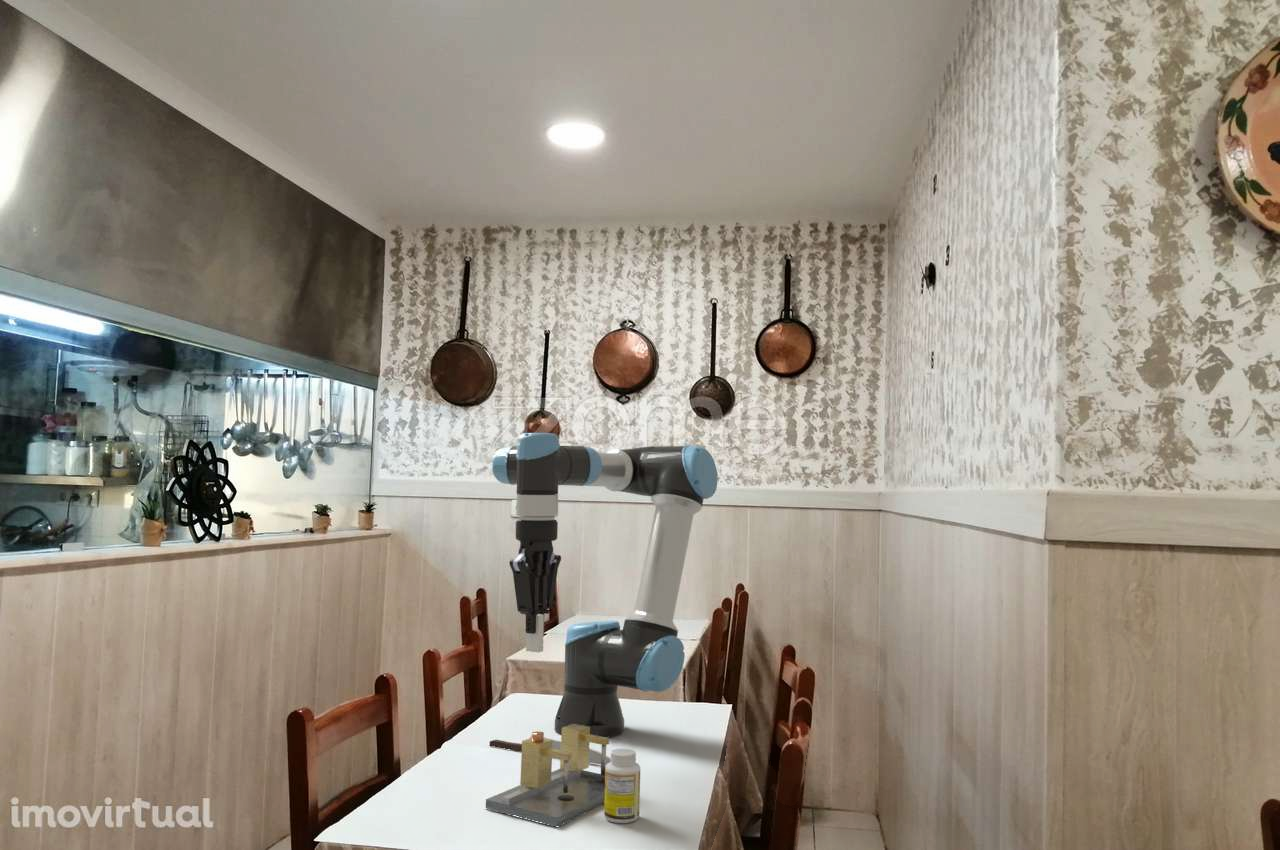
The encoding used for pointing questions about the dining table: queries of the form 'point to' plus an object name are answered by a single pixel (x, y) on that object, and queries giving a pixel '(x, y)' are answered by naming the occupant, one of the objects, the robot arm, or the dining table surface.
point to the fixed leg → (581, 747)
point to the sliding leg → (541, 762)
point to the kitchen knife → (593, 754)
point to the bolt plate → (553, 798)
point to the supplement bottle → (622, 787)
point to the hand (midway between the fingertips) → (534, 650)
